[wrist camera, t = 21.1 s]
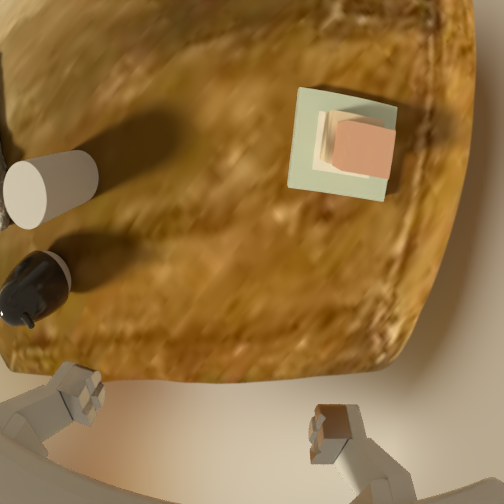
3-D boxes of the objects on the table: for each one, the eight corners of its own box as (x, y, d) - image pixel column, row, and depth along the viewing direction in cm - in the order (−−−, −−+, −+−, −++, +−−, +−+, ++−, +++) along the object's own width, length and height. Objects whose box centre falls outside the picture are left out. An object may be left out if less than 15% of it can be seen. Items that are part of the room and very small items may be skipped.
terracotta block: (337, 121, 28) (348, 120, 23) (379, 130, 27) (396, 130, 23) (331, 165, 29) (341, 170, 25) (373, 172, 29) (388, 179, 25)
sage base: (297, 90, 33) (299, 86, 31) (390, 108, 33) (397, 107, 31) (287, 184, 38) (288, 187, 35) (377, 197, 37) (383, 201, 35)
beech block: (325, 113, 32) (333, 109, 27) (370, 121, 32) (385, 120, 27) (319, 159, 34) (327, 163, 29) (364, 166, 34) (377, 172, 29)
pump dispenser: (81, 305, 47) (33, 358, 33) (38, 285, 46) (-13, 329, 32) (81, 252, 43) (22, 299, 29) (35, 235, 43) (-25, 273, 28)
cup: (74, 138, 36) (18, 147, 25) (108, 174, 38) (56, 192, 27) (49, 180, 39) (-4, 199, 28) (80, 214, 41) (31, 242, 30)
